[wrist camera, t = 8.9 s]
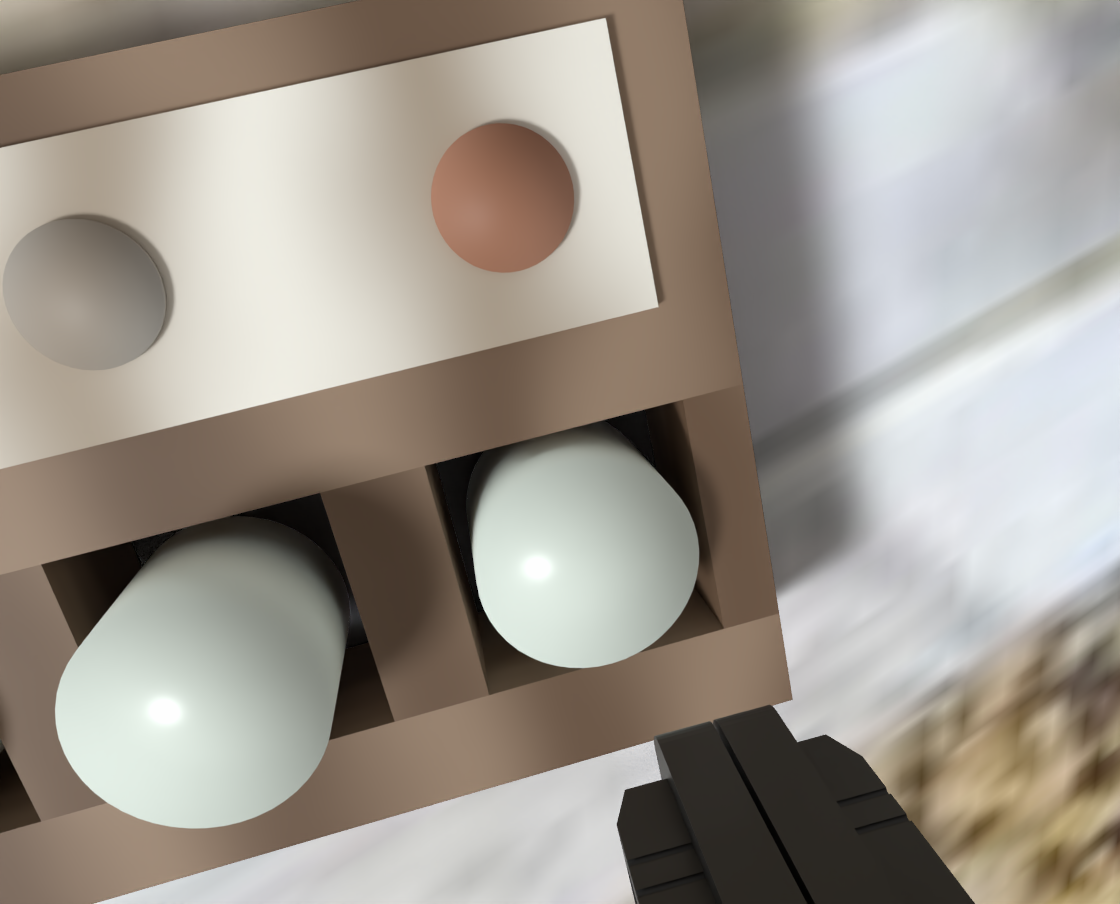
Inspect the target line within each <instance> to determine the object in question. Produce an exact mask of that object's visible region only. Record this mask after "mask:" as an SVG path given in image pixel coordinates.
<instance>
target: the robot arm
mask: <svg viewBox="0 0 1120 904" xmlns="http://www.w3.org/2000/svg"><path fill="white" fill-rule="evenodd" d="M654 745H655V750H656V755H657V760H658V764H659V769H660V774H661V778H662V780H659V781H656V782H652V783H648V784H645V785H641V786H638V787H634V788H630V789H627V790H625V792H624V797H623V801H622V805H621V809H620V813H619V817H618V822H617V828H618V832H619V836H620V841H621V845H622V849H623V853H624V857H625V862H626V866H627V870H628V874H629V878H630V883H631V887H632V891H633V895H634V899H635V904H975V903H974V902H973V900H972V899H971V898H970V897H969V895H968V894H967V893H966V891H965V890H964V889H963V887H962V886H961V885H960V883H959V882H958V881H957V880H956V878H955V877H954V876H953V874H952V873H951V872H950V870H949V869H948V868H947V866H946V865H945V864H944V863H943V861H942V860H941V859H940V857H939V856H938V855H937V853H936V852H935V851H934V850H933V848H932V847H931V846H930V844H929V843H928V842H927V840H926V839H925V838H924V836H923V835H922V834H921V833H920V831H919V830H918V829H917V827H916V826H915V825H914V823H913V822H912V821H909V820H908V818H907V815H906V813H905V812H904V810H903V809H902V808H901V806H900V805H899V804H898V802H897V801H896V800H895V799H894V797H893V796H892V795H891V794H888V792H887V789H886V787H885V785H884V784H883V783H882V782H881V780H880V779H879V778H878V776H877V775H876V774H875V772H874V771H873V770H872V768H871V767H870V766H869V765H868V763H867V762H866V761H865V759H864V758H863V757H862V756H861V755H859V754H857V753H856V752H854V751H852V750H851V749H849V748H847V747H846V746H844V745H842V744H841V743H839V742H837V741H836V740H834V739H832V738H831V737H829V736H827V735H822V736H819V737H815V738H811V739H808V740H804V741H800V742H797V741H796V740H795V738H794V737H793V735H792V734H791V732H790V731H789V729H788V728H787V726H786V725H785V723H784V722H783V720H782V719H781V717H780V716H779V714H778V713H777V711H776V710H775V708H774V707H773V706H771V705H766V706H763V707H759V708H755V709H752V710H748V711H744V712H740V713H737V714H733V715H729V716H726V717H722V718H718V719H715V720H713V724H712V722H710V721H708V722H704V723H701V724H697V725H693V726H690V727H686V728H682V729H679V730H675V731H671V732H668V733H664V734H660V735H656V736H654Z"/></svg>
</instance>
